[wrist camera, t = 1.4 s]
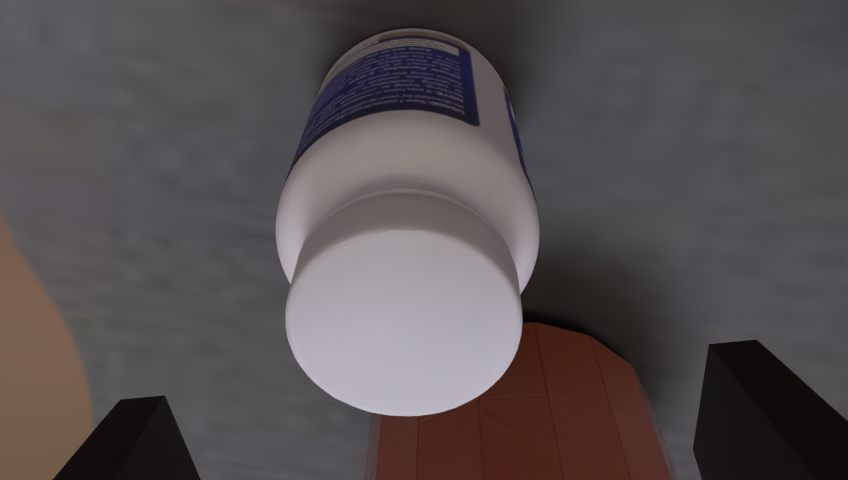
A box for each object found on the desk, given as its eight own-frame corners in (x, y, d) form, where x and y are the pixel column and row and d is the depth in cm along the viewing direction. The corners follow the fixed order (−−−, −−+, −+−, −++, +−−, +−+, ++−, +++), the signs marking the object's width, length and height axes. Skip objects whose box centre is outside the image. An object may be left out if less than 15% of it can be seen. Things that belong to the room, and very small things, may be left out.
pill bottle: (276, 130, 20) (178, 338, 12) (402, -21, 18) (378, 116, 10) (424, 243, 22) (417, 485, 14) (555, 117, 20) (629, 321, 12)
